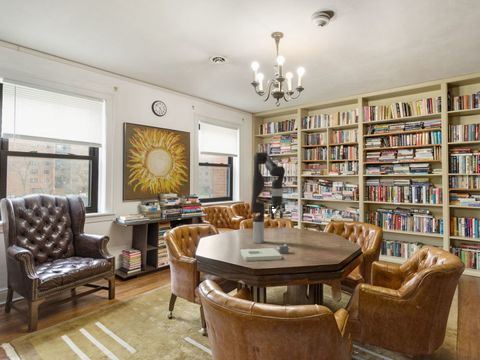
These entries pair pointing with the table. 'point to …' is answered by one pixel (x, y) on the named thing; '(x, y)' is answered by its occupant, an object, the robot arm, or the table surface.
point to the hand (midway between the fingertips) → (277, 218)
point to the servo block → (283, 249)
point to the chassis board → (260, 254)
